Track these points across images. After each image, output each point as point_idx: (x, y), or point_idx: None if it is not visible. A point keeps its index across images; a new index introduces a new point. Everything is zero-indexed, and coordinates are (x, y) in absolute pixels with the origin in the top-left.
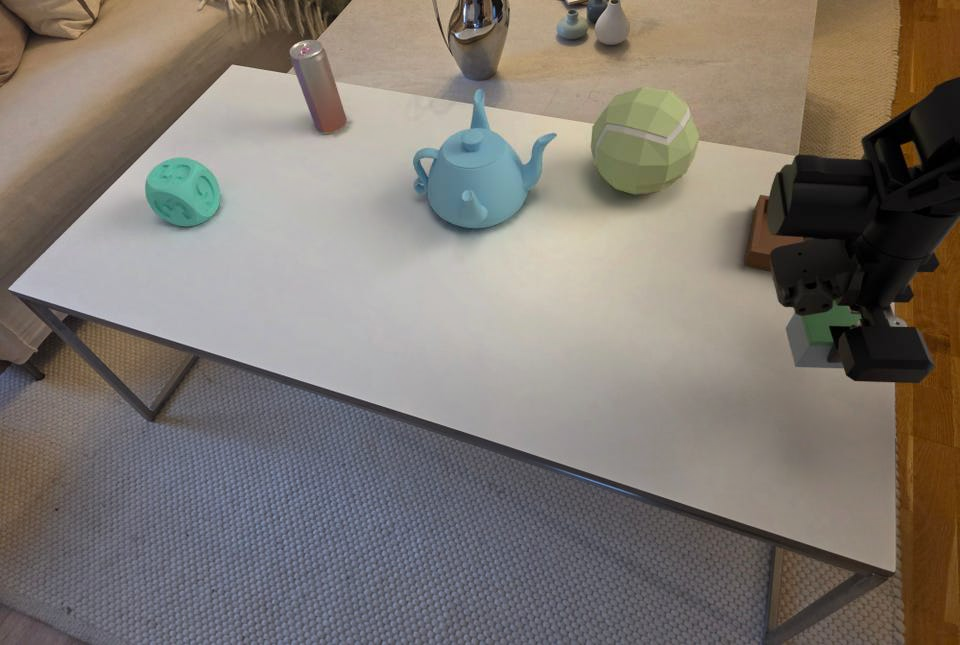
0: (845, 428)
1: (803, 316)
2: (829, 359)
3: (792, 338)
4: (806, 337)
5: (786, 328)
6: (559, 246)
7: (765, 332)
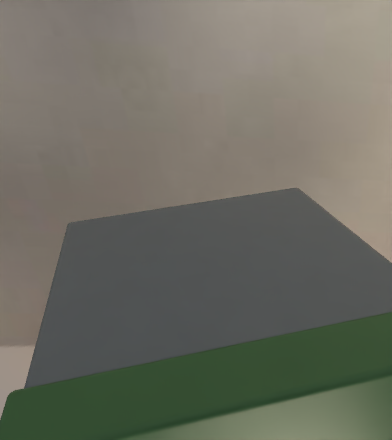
0: None
1: (324, 362)
2: None
3: (218, 221)
4: (122, 356)
5: (293, 192)
6: None
7: (331, 136)
